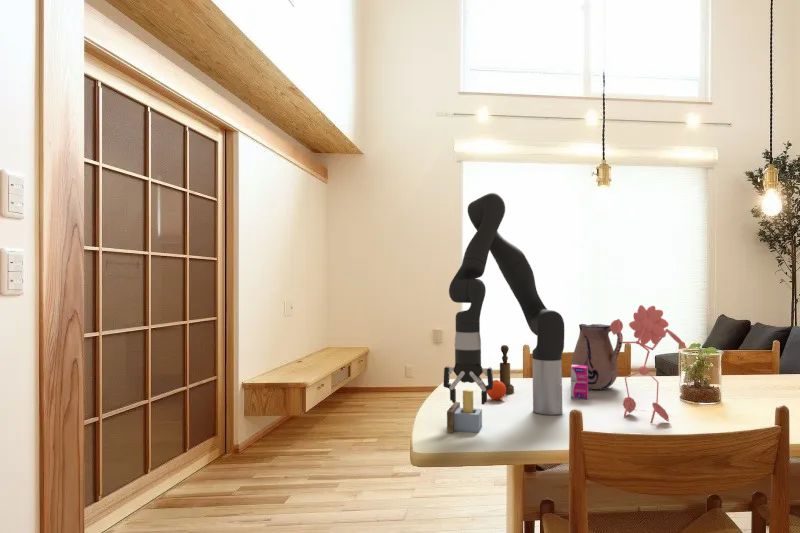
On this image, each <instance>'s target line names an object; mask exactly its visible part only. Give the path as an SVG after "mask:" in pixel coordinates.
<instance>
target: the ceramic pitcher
mask: <svg viewBox="0 0 800 533" xmlns="http://www.w3.org/2000/svg"><path fill="white" fill-rule="evenodd" d="M610 325H611V324H609V325H608V324H601V323H599V324H598V323H597V324H596V323H592V324H585V323H581V324H580V323H579V325H578V326H579V333H578V334H579V335H578V338H577V341H576V344H575V347H574V350H573V354H572V359H571V362H570V364H571V365H570V367H571V366H572V365H586V366H588V390H598V389H600V390H607V389H608V388H609V387H612V385H614V383H615V382H616V380H617V378H618V373H619V367H618V362H617V359H618V357H619V355H620V353H621V349H622V346H623V343H621V342H620V335H619V333H617V334H616V337H617V339H616V344H615V348H614V347H613V345H612V342H611V338H610V334H609V333H610V332H611V333H612V331H611V329H610ZM621 336H622V342H624V340H623V334H622V332H621Z"/></svg>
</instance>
